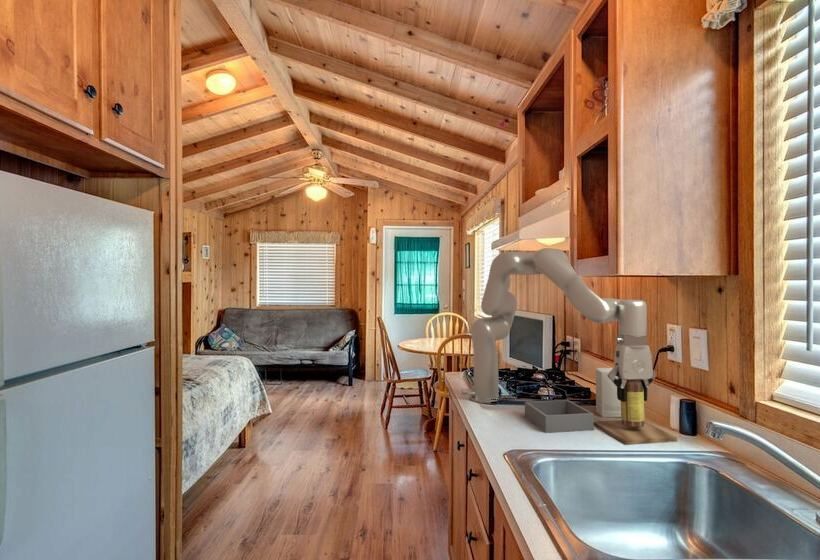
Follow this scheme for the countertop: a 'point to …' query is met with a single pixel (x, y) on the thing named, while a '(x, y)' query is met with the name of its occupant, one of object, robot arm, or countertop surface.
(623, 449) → the countertop surface
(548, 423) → the bin
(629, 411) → the sauce bottle
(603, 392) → the skincare box
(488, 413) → the countertop surface
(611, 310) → the robot arm
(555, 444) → the countertop surface
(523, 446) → the countertop surface
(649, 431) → the board
